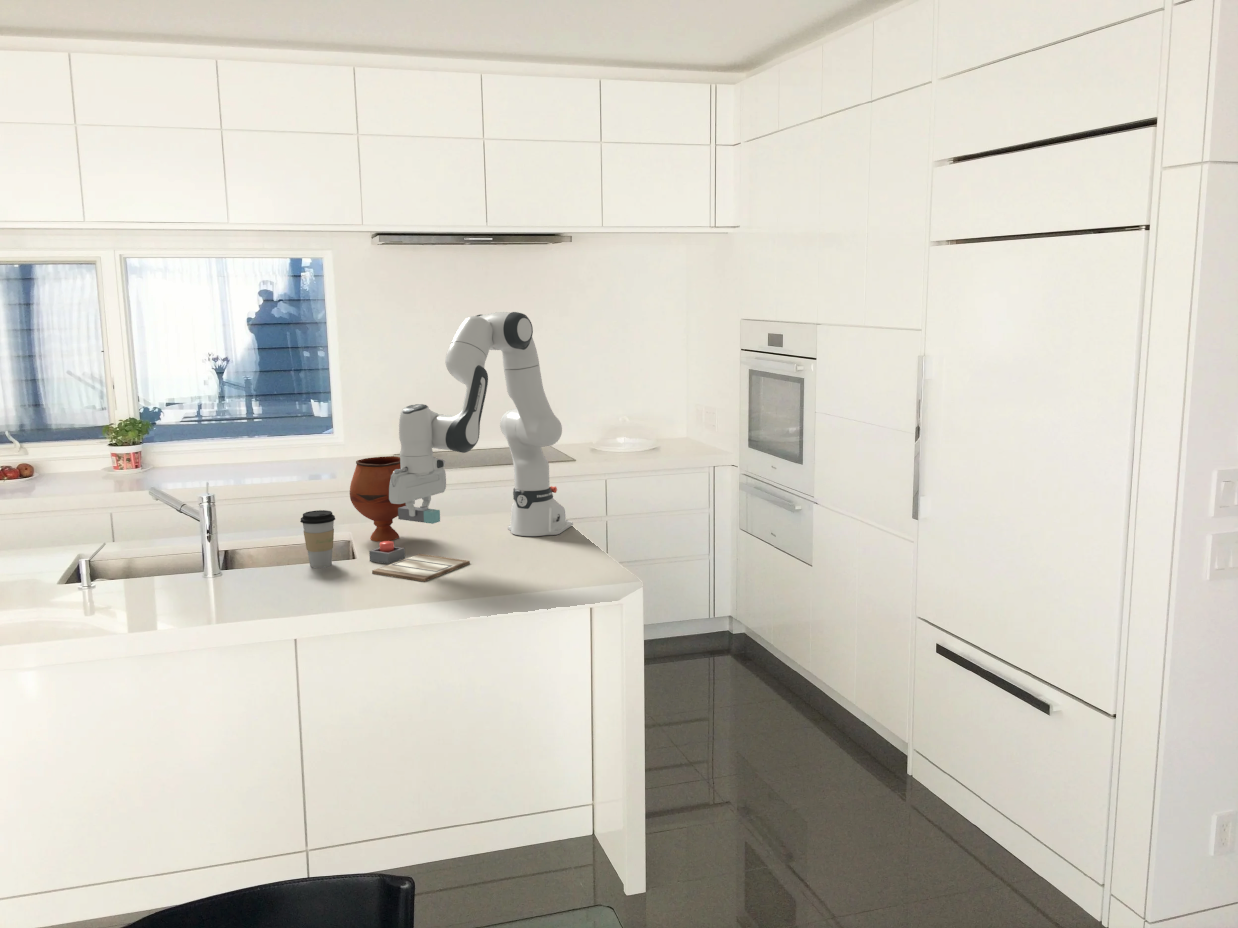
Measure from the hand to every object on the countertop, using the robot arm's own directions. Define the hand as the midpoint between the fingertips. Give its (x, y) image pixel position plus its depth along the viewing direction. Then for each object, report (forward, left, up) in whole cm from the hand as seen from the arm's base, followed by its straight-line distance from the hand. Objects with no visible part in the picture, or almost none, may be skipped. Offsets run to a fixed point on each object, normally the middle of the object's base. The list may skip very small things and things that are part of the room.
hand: (418, 514), depth 277 cm
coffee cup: (+10, -28, -16) cm, 33 cm away
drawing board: (0, 0, -15) cm, 15 cm away
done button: (-3, -15, -13) cm, 20 cm away
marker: (0, 0, -2) cm, 2 cm away
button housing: (-3, -15, -15) cm, 22 cm away
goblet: (-22, -33, -16) cm, 43 cm away
